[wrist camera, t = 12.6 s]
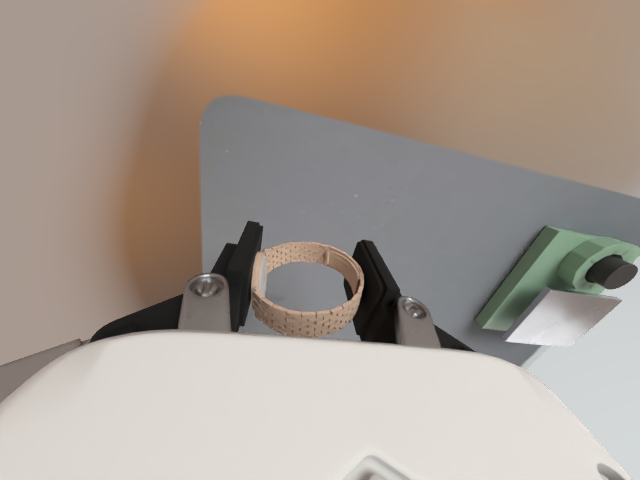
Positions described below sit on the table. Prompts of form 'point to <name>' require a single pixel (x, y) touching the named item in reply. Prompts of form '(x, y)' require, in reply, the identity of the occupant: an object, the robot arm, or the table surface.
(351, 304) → the perforated watch strap
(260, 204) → the table surface
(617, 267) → the button
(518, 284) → the scale
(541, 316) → the brushed metal plate
